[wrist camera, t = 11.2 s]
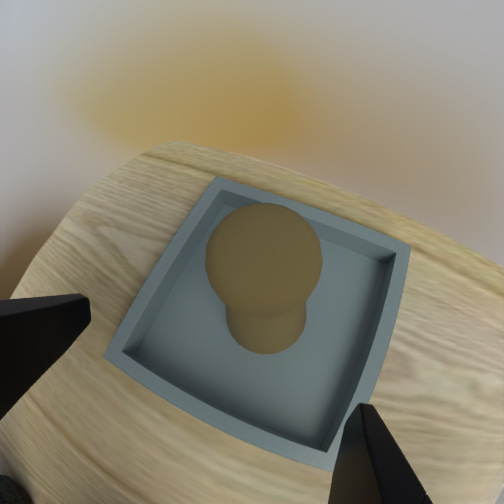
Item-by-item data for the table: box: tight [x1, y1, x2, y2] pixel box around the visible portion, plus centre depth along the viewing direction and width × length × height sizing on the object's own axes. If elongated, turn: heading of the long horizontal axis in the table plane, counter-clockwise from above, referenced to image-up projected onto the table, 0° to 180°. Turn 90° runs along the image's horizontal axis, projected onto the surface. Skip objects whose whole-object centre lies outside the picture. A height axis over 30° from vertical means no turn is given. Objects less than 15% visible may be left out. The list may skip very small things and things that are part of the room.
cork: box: [205, 203, 323, 354], centre depth 16 cm, size 6×6×11 cm
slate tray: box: [103, 176, 411, 472], centre depth 20 cm, size 18×18×3 cm
